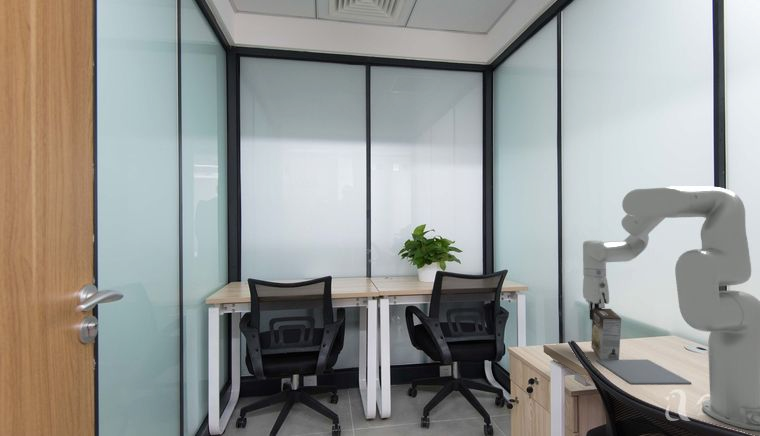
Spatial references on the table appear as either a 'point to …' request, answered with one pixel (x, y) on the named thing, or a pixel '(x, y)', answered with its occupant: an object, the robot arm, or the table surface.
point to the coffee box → (606, 334)
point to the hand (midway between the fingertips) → (595, 319)
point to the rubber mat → (642, 372)
